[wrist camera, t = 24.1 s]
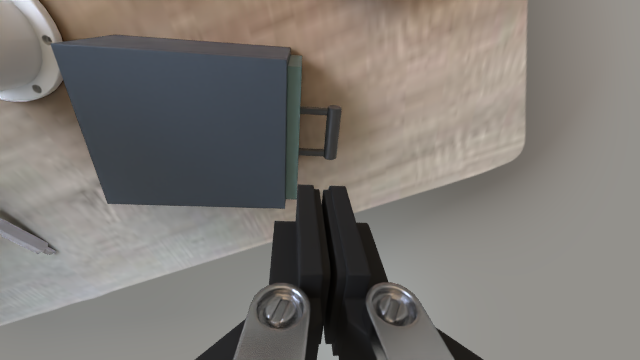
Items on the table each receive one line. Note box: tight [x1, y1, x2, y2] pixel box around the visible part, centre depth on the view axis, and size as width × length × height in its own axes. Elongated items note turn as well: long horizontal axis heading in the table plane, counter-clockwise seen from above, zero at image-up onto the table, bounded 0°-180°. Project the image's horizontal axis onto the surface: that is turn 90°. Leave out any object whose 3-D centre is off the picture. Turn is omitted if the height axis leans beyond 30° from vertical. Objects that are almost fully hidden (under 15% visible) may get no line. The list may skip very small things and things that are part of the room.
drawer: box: [285, 55, 342, 199], centre depth 30 cm, size 21×13×7 cm, turn 86°
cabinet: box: [50, 35, 291, 209], centre depth 30 cm, size 18×15×9 cm
